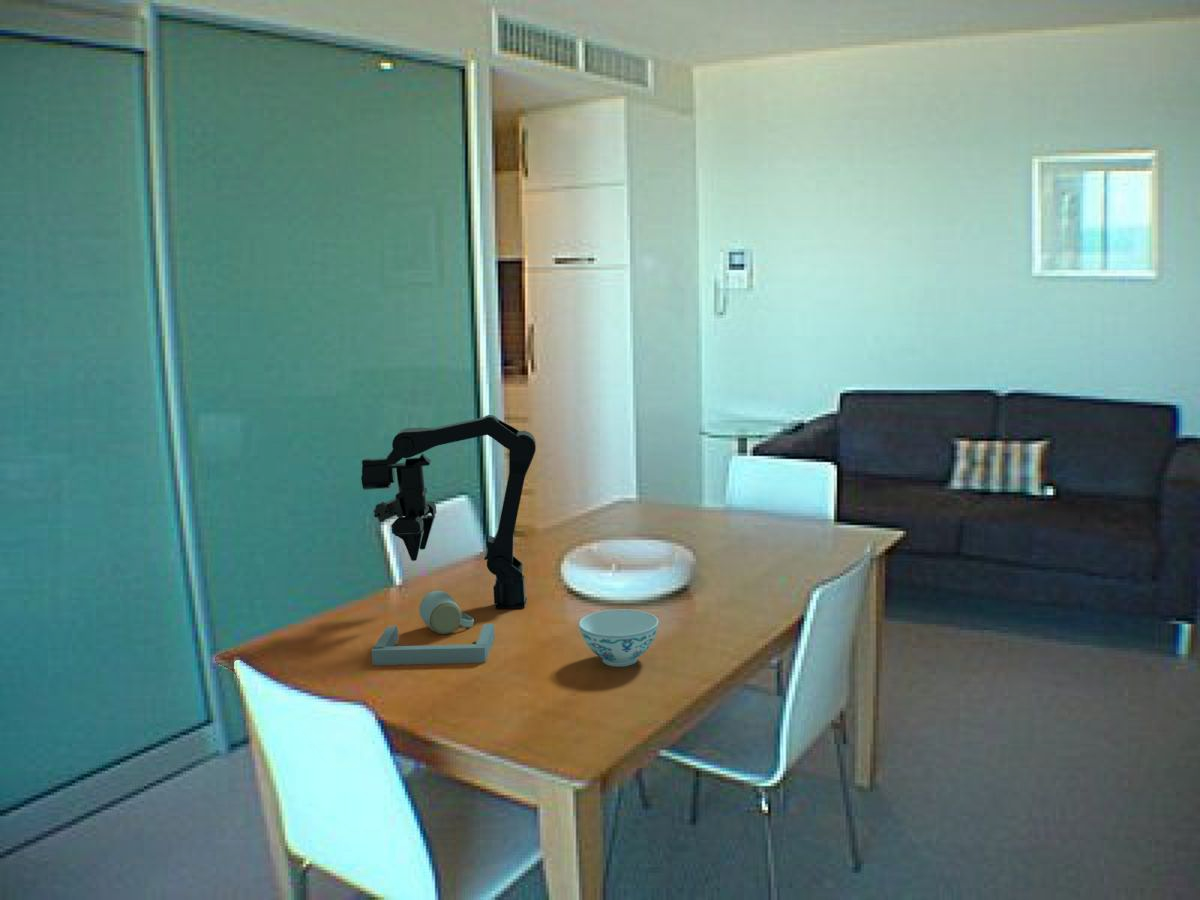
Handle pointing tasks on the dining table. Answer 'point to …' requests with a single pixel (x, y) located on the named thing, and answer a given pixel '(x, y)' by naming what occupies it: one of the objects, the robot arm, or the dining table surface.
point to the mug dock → (431, 650)
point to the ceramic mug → (442, 613)
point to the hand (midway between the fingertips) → (418, 554)
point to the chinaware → (619, 634)
